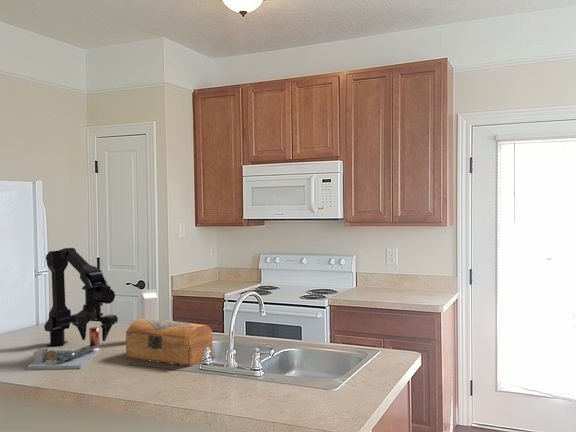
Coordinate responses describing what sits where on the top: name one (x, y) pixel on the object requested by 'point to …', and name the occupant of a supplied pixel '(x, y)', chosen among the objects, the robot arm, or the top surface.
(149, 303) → the milk
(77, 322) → the robot arm
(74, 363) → the blue-grey rectangular board
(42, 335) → the top surface
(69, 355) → the lever
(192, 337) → the wooden box
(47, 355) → the nut
